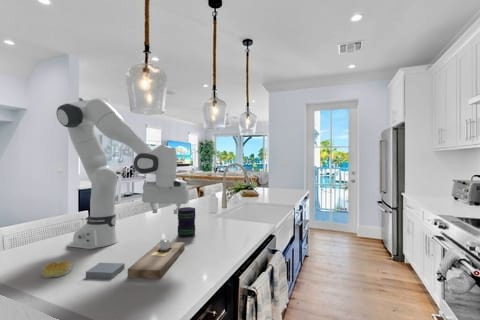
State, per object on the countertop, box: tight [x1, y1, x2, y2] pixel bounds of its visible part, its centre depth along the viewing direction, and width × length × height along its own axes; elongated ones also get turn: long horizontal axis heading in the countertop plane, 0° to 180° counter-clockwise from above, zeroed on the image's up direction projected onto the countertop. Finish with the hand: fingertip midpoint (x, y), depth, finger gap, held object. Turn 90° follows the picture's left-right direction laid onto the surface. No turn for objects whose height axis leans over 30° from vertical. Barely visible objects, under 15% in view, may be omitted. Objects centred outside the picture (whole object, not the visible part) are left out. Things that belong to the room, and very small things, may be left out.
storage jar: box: [177, 206, 196, 239], centre depth 139 cm, size 10×10×15 cm
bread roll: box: [41, 261, 74, 279], centre depth 92 cm, size 8×9×4 cm
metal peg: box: [159, 238, 170, 252], centre depth 108 cm, size 4×4×7 cm
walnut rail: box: [127, 241, 185, 280], centre depth 103 cm, size 12×30×3 cm, turn 176°
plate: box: [85, 262, 126, 279], centre depth 92 cm, size 10×8×2 cm
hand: (165, 213), depth 109 cm, fingers open, 8 cm apart
